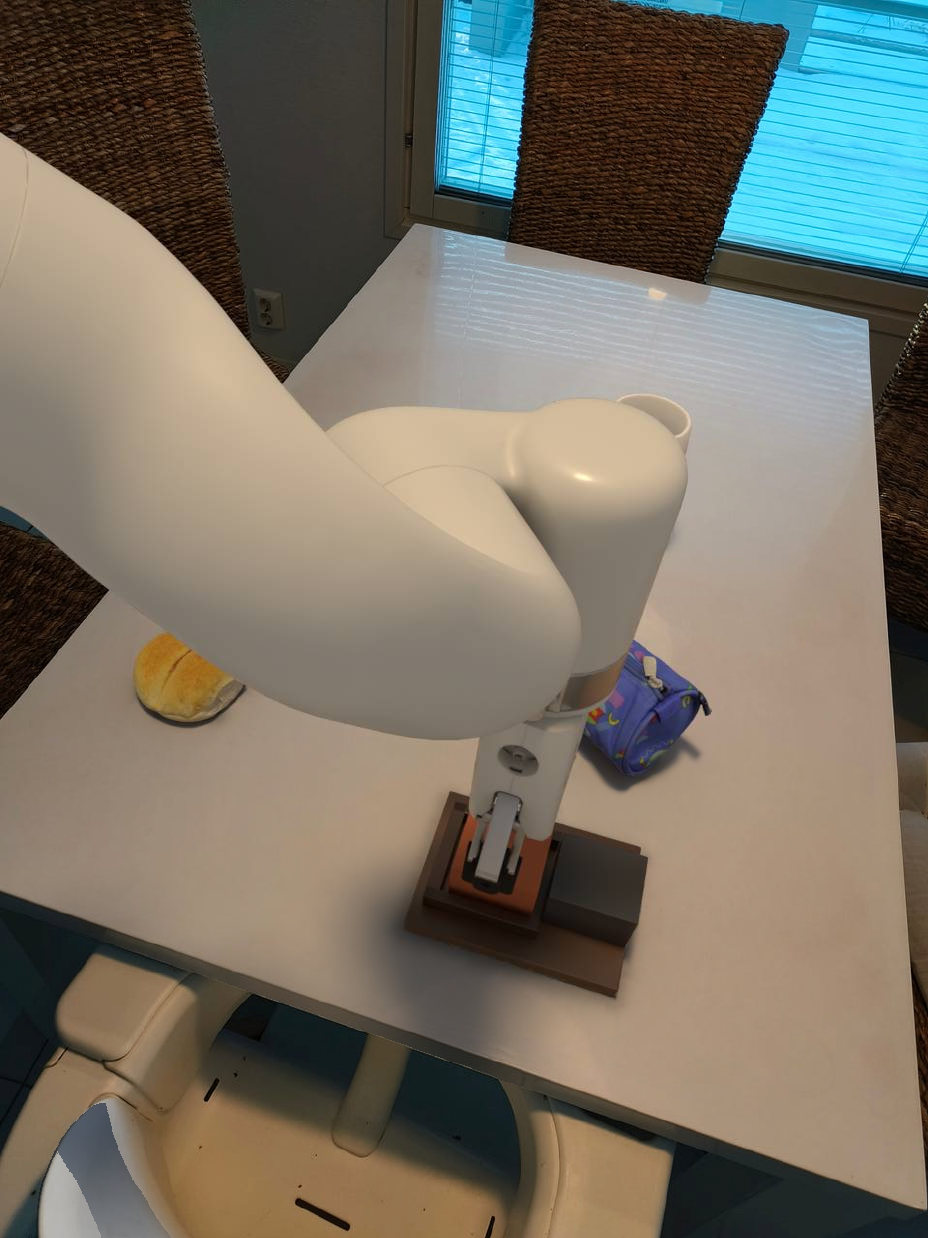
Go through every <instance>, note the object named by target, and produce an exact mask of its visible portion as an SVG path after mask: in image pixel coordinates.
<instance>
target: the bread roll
mask: <svg viewBox="0 0 928 1238" xmlns="http://www.w3.org/2000/svg"><path fill="white" fill-rule="evenodd" d="M132 672H133V673H132V681H133V687H134V690H135V693H136V694H137V696H138V698H139V700H140V702H141V704H143V705H144V706H145V707H146V708H147V709H149V710H151V711H153V712H156V713H158V714H159V715H160V716H161V717H164V718H165V719H169V720H172V721H176V722H182V723H195V722H201V721H204V720H208V719H209V718H213V717H214V716H215V715H217V714H218V713H219V712H220V711H222V710H223V709H225V708H226V707H228V706H229V705H230V703H231V702H232V701H233V700H234V699H235V698H236V697H237V696H238V695H239V693H240V692H241V690H242V689H243V687H244V686H245V685H244V684H242V683H240V682H239V681H237V680H235V679H234V678H232V677H231V676H229V675H228V674H226V673H225V672H223V671H222V670H220V669H219V668H217V667H216V666H214V665H212V664H211V663H209V662H208V661H206V660H205V659H204V658H202V657H201V656H199V655H198V654H197V653H195V652H194V651H192V650H191V649H190V648H188V647H187V646H186V645H184V644H183V643H181V642H180V641H179V640H177V639H176V638H175V637H174V636H172V635H171V634H170V633H168V632H167V631H165V632H163V633H161V634H159V635H157V636H155V637H153V638H152V639H151V640H149V641H148V642H147V643H146V644H145V645H143V647H142V648H141V649H140V650H139V652H138V654H137V656H136V658H135V661H134V665H133V671H132Z"/></svg>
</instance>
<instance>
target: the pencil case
mask: <svg viewBox="0 0 928 1238" xmlns="http://www.w3.org/2000/svg"><path fill="white" fill-rule="evenodd" d="M701 706H702V707H701ZM701 708H702V711H703V713H704V717H708V716H710V715H711V714H712V712H713V710H712V709H711V707H710V706H709V702H708V700H707V698H706V697H705V695H704V693H703V692H702V691H700V690H699V689H698V687H696V686H695V685H694V684H693V683H692V682H690V681H689V680H688V679H686V678H684V677H683V676H681V675H680V674H679V673H678V672H677V671H675V670H674V669H673V668H672V667H671V666H669V665H668V664H667V663H666V662H665V661H664V660H662V659H661V658H660V657H658V656H656V655H655V654H653V653H652V652H651V651H649V649H647V648H646V647H645V646H643V644H641V643H640V642H639V641H637V640H635V639H633V642H632V645H631V648H630V650H629V653H628V656H627V659H626V661H625V664H624V667H623V670H622V673H621V675H620V678H619V681H618V684H617V686H616V688H615V690H614V692H613V694H612V695H611V696H610V698H609V699H608V700H607V701H606V702H605V703H603V704H602V705H601V706H600V707H598V708H596V709H595V710H593V711H591V712H589V713H588V717H587V721H586V724H585V728H584V731H583V735H584V736H585V737H586V738H588V739H589V740H590V742H592V743H593V744H594V745H595V747H597V748H598V749H601V750H602V752H603V754H604V755H605V756H606V757H607V758H608V759H610V760H611V761H612V763H613V764H614V765H615V766H616V767H617V769H618V770H619V772H620V773H622V774H624V775H627V776H628V775H629V776H638V775H641V774H643V773H645V772H647V771H648V770H649V769H650V768H652V767H653V765H654V764H655V763H657V761H658V760H659V759H660V758H661V756H662V755H663V754H664V753H666V752H667V751H668V750H669V749H670V748H672V746H674V745H675V743H677V741H678V740H679V739H680V737H681V736H682V735H683V733H684V732H685V731H687V729H688V728H689V726H690V725H691V724H692V723H693V721H694V720H695V719H696V716H697V715H698V713H699V711H700V709H701Z"/></svg>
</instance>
